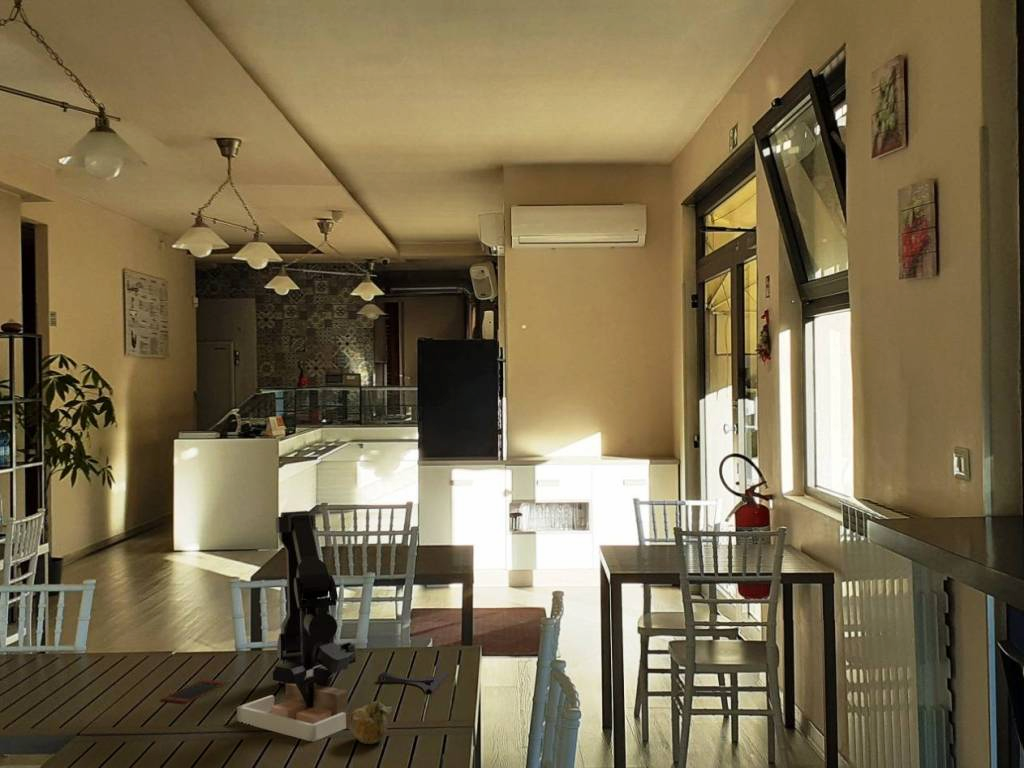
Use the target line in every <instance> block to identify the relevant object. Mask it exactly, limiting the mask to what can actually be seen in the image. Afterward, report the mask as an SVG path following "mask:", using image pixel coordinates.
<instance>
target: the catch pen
mask: <svg viewBox="0 0 1024 768" xmlns="http://www.w3.org/2000/svg"><path fill="white" fill-rule="evenodd" d="M272 706H275V696H274V695H272V694H271V695H268V696H265V697H262V698H259V699H256V700H253V701H250V702H247V703H244V704H242V705H239V706H237V707H236V710H237V711H236V713H237V715H236V716H237V717H236V718H237V722H238V721H239V723H241V722H243V723H242V724H245V723H246V724H245V725H248V724H250V725H249V726H252V725H253V727H256V728H260V729H264V730H267V731H271V732H275V733H279V734H282V735H286V736H289V737H290V736H291V737H294V738H298V739H300V740H304V741H309V742H313V743H314V742H316V741H318V740H321V739H325V738H326V737H328V736H331V735H333V734H336V733H338V732H340V731H342V730H345V729H347V715H346V713H343V712H342V713H339V714H337V715H334V716H332V717H329V718H327V719H324V720H322V721H319V722H317V723H314V724H311V723H307V722H303V721H299V720H295V719H291V718H288V717H284V716H280V715H276V714H272V713H271V707H272Z"/></svg>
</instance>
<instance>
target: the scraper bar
mask: <svg viewBox="0 0 1024 768" xmlns="http://www.w3.org/2000/svg"><path fill="white" fill-rule="evenodd" d="M288 700H290V701H294V702H299V703H303V704H306V702H305V700H304V698H303V697H302V695H301V693H300V691H299V689H298V687H297V686H296V684H289V683H287V684H286V686H285V701H288ZM313 707H318V708H323V709H327V710H331V711H332V716H334V715H337V714H339V713H342V712H343V713H346V716H348V715H349V707H348V690H346V689H341V688H336V687H333V686H332V687H327V686H322V685H317V684H316V683H314V697H313ZM306 709H309V707H308V706H307V704H306Z"/></svg>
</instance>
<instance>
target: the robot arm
mask: <svg viewBox="0 0 1024 768" xmlns="http://www.w3.org/2000/svg"><path fill="white" fill-rule="evenodd" d="M316 523H317V522H316V514H311V513H309V511H308V510H298V511H284V512H283V511H282V512H280V516H277V517H276V518H275V533H277V534H278V540H279V541H280V543H281V544H282V546H283V547H284V549H285V552H286V553H285V555H286V556H285V557H286V589H287V590H286V591H287V592H286V593H287V614H286V616H285V618H284V619H283V620H282V623H281V624H280V625H281V629H280V630H281V631H280V633H279V634H278V639H277V645H276V651H277V658H279V659H278V660H279V661H280V662H281V661H282V663H281V664H278V665H275V667H274V668H273V669H272V680H273V681H276V682H277V684H278V685H281V686H285V687H286V684H287V683H289V684H296V686H297V687H298V689H299V691H300V693H301V695H302V697H303V698H304V700H305V702H306V704H307V706H308V707H309V708H312V707H313V697H314V684H317V685H322V686H327V687H330V686H331V683H332V680H333V678H334V676H336V674H337V673H339V672H340V671H345V670H348V668H349V665H351V664H354V663H356V650H355V644H354V643H353V642H351V641H348V642H345V643H343V644H341V643H340V644H336V643H335V641H334V640H335V638H334V637H335V635H336V634H337V631H338V623H337V620H336V619H335V617H334V616H333V615H332V614H331V613H330V606H331V607H332V606H337V600H338V591H337V587H336V586H337V585H336V582H335V579H334V576H333V575H332V574H330V571H329V568H328V565H327V564H326V563H325V562H324V561H322V560H321V559H320V556H319V552H318V547H317V543H316V539H315V534H314V531H316V530H317V524H316Z"/></svg>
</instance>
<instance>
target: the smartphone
mask: <svg viewBox="0 0 1024 768" xmlns="http://www.w3.org/2000/svg"><path fill="white" fill-rule="evenodd" d="M199 683H202V684H199ZM204 683H205V684H204ZM197 684H198V685H197ZM211 684H212V685H211ZM226 684H228V685H229V682H227V681H222V680H221V681H219V680H211V679H202V680H200V681H197V682H195V683H193V684H190V685H189V686H186V687H184V688H182V689H180V690H177V691H175V692H173V693H171V694H168V695H166V696H164V697H162V698H161V699H160V702H163V701H167V702H166V703H171V702H176V703H175V704H180V703H187V704H189V703H188V702H190V701H192V700H194V699H196V698H198V699H200V698H201V697H200V696H202V695H204V694H207V693H208V692H211V691H213V690H215V689H217V688H220V687H222V686H224V685H226ZM217 685H220V686H217ZM192 686H193V687H192ZM226 686H227V685H226ZM224 687H225V686H224ZM222 688H223V687H222ZM220 689H221V688H220ZM215 691H216V690H215ZM213 692H214V691H213ZM211 693H212V692H211ZM207 695H208V694H207ZM199 697H200V698H199ZM196 700H197V699H196ZM194 701H195V700H194ZM192 702H193V701H192ZM190 703H191V702H190Z"/></svg>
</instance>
